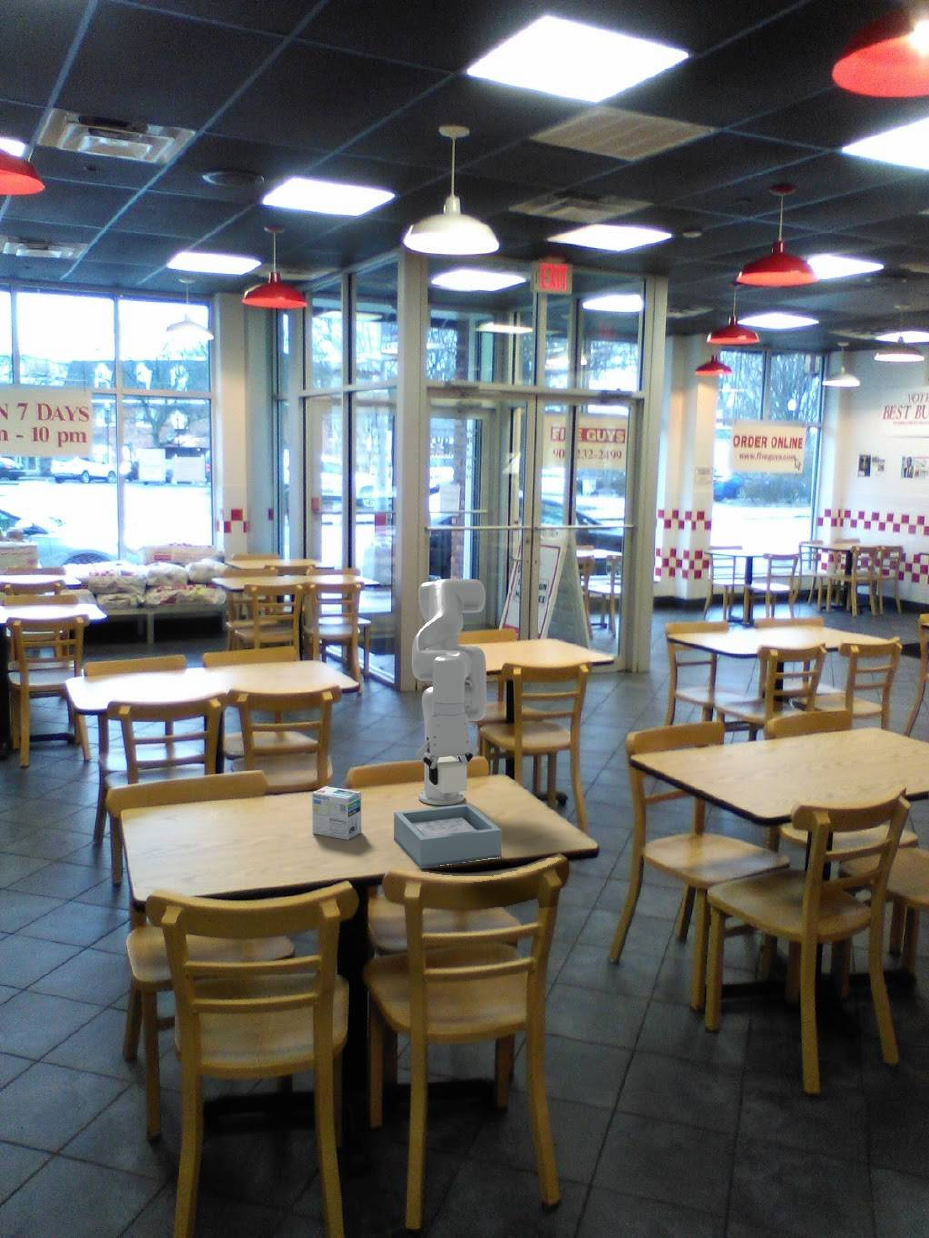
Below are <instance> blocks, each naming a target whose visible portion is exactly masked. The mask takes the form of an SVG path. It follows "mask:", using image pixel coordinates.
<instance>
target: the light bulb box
mask: <svg viewBox="0 0 929 1238" xmlns="http://www.w3.org/2000/svg"><path fill="white" fill-rule="evenodd" d="M311 798H312V799H311V800H312V807H311V809H312V810H311V811H312V834H313V835H314V834H316V835H320V836H325V837H330V838H335V839H340V840H347V841H349V840H350V839H352V838H354V837H356V836H358V835H359V834H361V833H362V791H360V790H358V791H357V790H350V789H345V788H337V787H331V786H328V785H325V786H323V787H321V788H320V789H317V790H316V791H315V790H314V791H313V792H312V793H311Z"/></svg>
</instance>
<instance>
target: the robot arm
mask: <svg viewBox="0 0 929 1238" xmlns="http://www.w3.org/2000/svg"><path fill="white" fill-rule="evenodd" d="M417 590H418V591H417V597H418V604H419V609H420V611H421V614H422V617H423V619H424V623H425V625H423V626H422V627H421V628H420V629H419V630H418V632H417V633H416V635H415V637H414V638H413V642H412V646H411V670H412V674H413V676H414V678H415V679H416V680H419V681H424V682H431V681H432V686H430V687H428V688H426V689H425V690H424V692H423V693H422V696H421V707H422V714H423V722H424V743H423V744H422V745H421V746H420V747H419V748H418V750H417V751H416V752H415V755H416V756H417V757H419V759H420V760H422V762H423V763H424V784H423V787H424V789H423V790H421V791H420V792H419V793H418V799H419V801H421V802H422V803H425V804H428V805H433V806H452V805H455V804H456V805H457V804H459V803H461V802H463V801H464V799H465V793H464V791H459V792H451V793H442V792H440V791H439V790H438V789H436V788H435V787H434V786H432V785H431V784H429V783H428V777H429V780H430V781H431V783H432V784H434V785H437V784H438V769H437V768H436V764H437V762H438V759H439V757H448V756H452V757H454V758H455V759H457V760H459V761H460V762H462V763H463V764H465V765H466V766H467V767H468V764H469V762H470V761H471V760H472V759H473V758H474V756H475V755H476V754H477V753H478V751H479V749H480V748H479V747H478V746H477V745H476V744H475V743H474V742H473V740H471V739H470V738H471V737H470V728H469V727H470V725H469V722H478V721H481V720H483V719H484V717H485V716H486V713H487V660H486V656H485V652H484V651H483V649H482V648H481V647H478V646H476V645H475V646H473V645H460V643H459V634H460V633H461V632H462V630H463V628H464V618H463V617H464V615H463V613H468V614H469V613H470V614H472V613H475V614H476V613H480V612H482V611H483V610H484V607H485V606H486V589H485V587H484V584H483V582H482V581H480V580H479V579H474V578H444V579H438V580H433V581H432V580H431V581H427V582H423V583H422V584H420V586H419V587H418V589H417ZM465 682H468V684H469V685H465Z"/></svg>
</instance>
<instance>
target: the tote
mask: <svg viewBox="0 0 929 1238" xmlns="http://www.w3.org/2000/svg"><path fill="white" fill-rule="evenodd" d="M461 817H462V818H463V819H464V820H466V821H467V822H468V823H469V824H470V825H471V826H472V827H474V828H475V829H476V830H477V831H469V832H461V833H452V834H444V835H436V836H428V837H425V836H424V835H423V834H422V833H421V832H420V831H419V830H418V829H417V828H416V827H415V826H414V825H413V824H412V823H418V822H426V821H435V820H443V819H452V818H461ZM393 840H394V841H395V843H396V844H397V845H398V846H399V847H400V848H401V850H402V851H403V852H405V854H406V855H407V856H408V857H409V858H410V859H411V860H412V861H413V862H414V863H415V865H416V866H417V867H418V869H420V870H424V869H423V868H425V869H431V867H432V868H437V867H436V866H440V865H447V864H449V865H447V866H451V865H450V864H455V865H459V864H458V863H463V862H469V861H476V860H482V859H488V858H497V857H498V858H499V857H501V858H502V829H501V828H500V827H499V826H497V825H496V824H495V823H494V822H493V821H491V820H490V819H489V818H488V817H487V816H486V815H484V814H483V813H482V812H480V811H479V810H478V809H477V808H475V807H474V806H473V805H472V804H471V803H466V804H456V805H455V804H454V805H445V806H440V807H431V808H429V807H428V808H421V809H410V810H403V811H402V810H401V811H394V812H393ZM463 864H464V863H463ZM440 867H441V866H440Z"/></svg>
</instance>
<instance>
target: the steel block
mask: <svg viewBox="0 0 929 1238" xmlns="http://www.w3.org/2000/svg"><path fill="white" fill-rule="evenodd" d="M412 824H413V825H414V826H415V827H416V828H417V829H418V830H419V831H420V832H421V833H422V834H423V835H424V836H425V837H428V836H436V835H444V834H452V833H461V832H469V831H477V830H476V829H475V828H474V827H472V826H471V825H470V824H469V823H468V822H467V821H466V820H464V819H463V818H462V817H461V818H452V819H443V820H435V821H426V822H418V823H412Z"/></svg>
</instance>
